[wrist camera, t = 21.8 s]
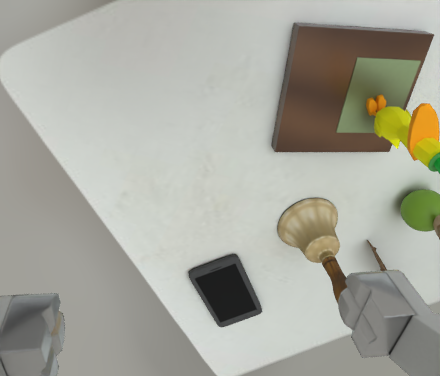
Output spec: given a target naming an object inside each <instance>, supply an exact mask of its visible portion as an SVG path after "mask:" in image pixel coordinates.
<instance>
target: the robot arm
mask: <svg viewBox="0 0 440 376" xmlns="http://www.w3.org/2000/svg"><path fill="white" fill-rule="evenodd" d="M345 283H346V285H347V286H348V287H347V288H346V289H344V290H343V291H342V292H341V294H340V297H339V300H338V304H339V312H340V315H341V318H342V320H343V322H344V324H345V325H347V326H348V327H349V328H351V329H352V330H353V331H352V336H351V338H352V340H353V341H354V343H355V345H356V347H357V349H358V351H359V353H360V355H361V357H362V358H366V357H377V356H389V358H390V359H391V360H393V361H394V362H395V363H396V364H397V365H398V366H399V367H400V368H401V369H403V370H404V371H405V372H406V373H407V374H408V375H409V376H440V314H439V313H438V314H434V313H433V312H432V311H431V309H430V308H429V307H428V305H427V304H426V303H425V301H424V300H423V299H422V298H421V296H420V295H419V294H418V292H417V291H416V290H415V288H414V287H413V286H412V284H411V283H410V282H409V281H408V279H407V278H406V277H405V275H404V274H403V273H402V272H401V271H399V270H388V271H371V272H359V273H351V274H349V275H348V276H347V279H346V281H345ZM59 307H60V298H59V295H58V294H57V293H50V294H30V295H29V294H27V295H11V296H10V295H8V296H0V376H57V374H58V369H59V365H58V361H57V357H56V356H57V355H58V354H59V353H60V352H61V351H62V347H63V343H64V333H65V323H64V316H63V313H61V312H60V311H59Z"/></svg>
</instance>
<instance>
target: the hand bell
mask: <svg viewBox="0 0 440 376" xmlns="http://www.w3.org/2000/svg"><path fill="white" fill-rule="evenodd" d="M337 220H338V214H337V210H336V208H335V206H334V205H333V204H332V203H331V202H329V201H328V200H325V199H321V198H312V199H306V200H303V201H300V202H298V203H296V204H294V205H293V206H291V207H290V208H289V209H287V210H286V211H285V213H284V214H283V215H282V217H281V218H280V221H279V224H278V234H279V237H280V238H281V240H282V241H283V242H285V243H286V244H288V245H290V246H293V247H298V248H299V249H300V250H301V251H302V252H303V254H304V255H305V256H306V258H307V259H308V260H309V261H311V262H315V263H321V262H322V265H323V267H324V268H325V270H326V271H327V273H328V275H329V277H330V279H331V281H332V285H333V291H334V295H335V298H336V300H337V303H338V300H339V297H340V294H341V292H342V291H343V290H344V289H346V288H347V287H348V286H347V285H346V283H345V281H346V279H347V278H346V277H345V275H344V274H343V272H342V270H341V268H340V266H339V264H338V263H337V260H336V258H335V255H336V254H337V252H338V250H339V247H340V243H339V240H338V238H337V236H336V233H335V227H336V224H337ZM338 305H339V304H338Z"/></svg>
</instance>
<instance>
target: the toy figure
mask: <svg viewBox="0 0 440 376" xmlns="http://www.w3.org/2000/svg"><path fill="white" fill-rule="evenodd" d="M385 106H386V100H385V99H384V97H383V95H378V96H377V98H376V101H374V99H373V98H369V99H367V103H366V108H367V111H368V113H369V115H370V116H371V115H374V116H376V117H375V121H374V130H375V133H376V134H377V135H378V136H379V137H381V136H383V137H384V138H385V139H388V140H389V141H390V142H391V143H392V144H393V145H394V146H395V147H396V148H397V149H398V146H399V143H400V141H401V142H402V143H403V144H404V145H405V147H406V148H407V149H408V151H409V153H410V155H411V156H412V158H413V160H414V161H415V160H419V161H421V162H422V163H423V164H424V165H425V166H427V167H428V168H429V169H430V170H431V171H434V172H435V171H438V172H439V174H440V142H439V122H438V117H437V114H436V112H435V110H434V109H433V108H432V106H431V105H430V104H424V103H421V104H420V105H419V106H418V107H417V108H416V109H415V110H414V111H413V114H412V117H411V115H410V113H409V112H408V111H407V109H406V112H405V111H404V110H402V109H401V108H400V107H385ZM376 110H377V112H376Z"/></svg>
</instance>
